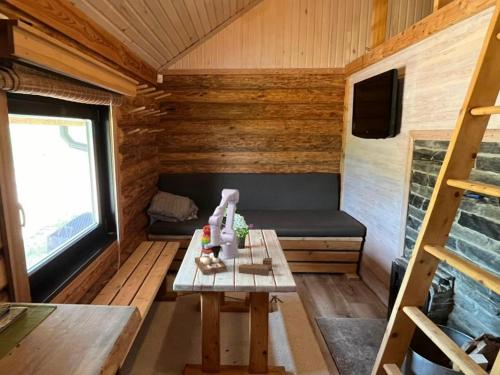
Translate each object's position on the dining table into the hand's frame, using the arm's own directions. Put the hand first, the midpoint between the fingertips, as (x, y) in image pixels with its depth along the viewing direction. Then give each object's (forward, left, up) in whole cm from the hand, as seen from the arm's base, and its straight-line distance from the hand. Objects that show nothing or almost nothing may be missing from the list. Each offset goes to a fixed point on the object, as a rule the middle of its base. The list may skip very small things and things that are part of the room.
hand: (215, 257), depth 193 cm
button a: (+6, -6, -5) cm, 10 cm away
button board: (+3, -2, -6) cm, 7 cm away
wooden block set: (-21, +12, -6) cm, 25 cm away
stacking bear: (-4, -28, -6) cm, 29 cm away
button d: (0, 0, -3) cm, 3 cm away
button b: (+6, 0, -3) cm, 7 cm away
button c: (0, -6, -3) cm, 7 cm away
